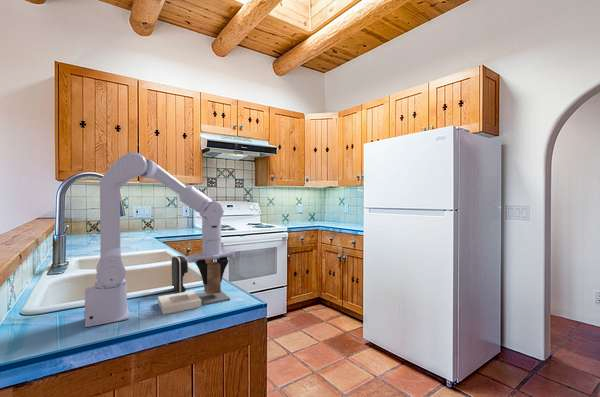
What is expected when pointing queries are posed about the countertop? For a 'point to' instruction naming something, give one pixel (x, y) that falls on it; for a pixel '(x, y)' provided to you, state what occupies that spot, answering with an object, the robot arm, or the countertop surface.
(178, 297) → the holder
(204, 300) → the mat
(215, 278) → the peg
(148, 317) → the countertop surface
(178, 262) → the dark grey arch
